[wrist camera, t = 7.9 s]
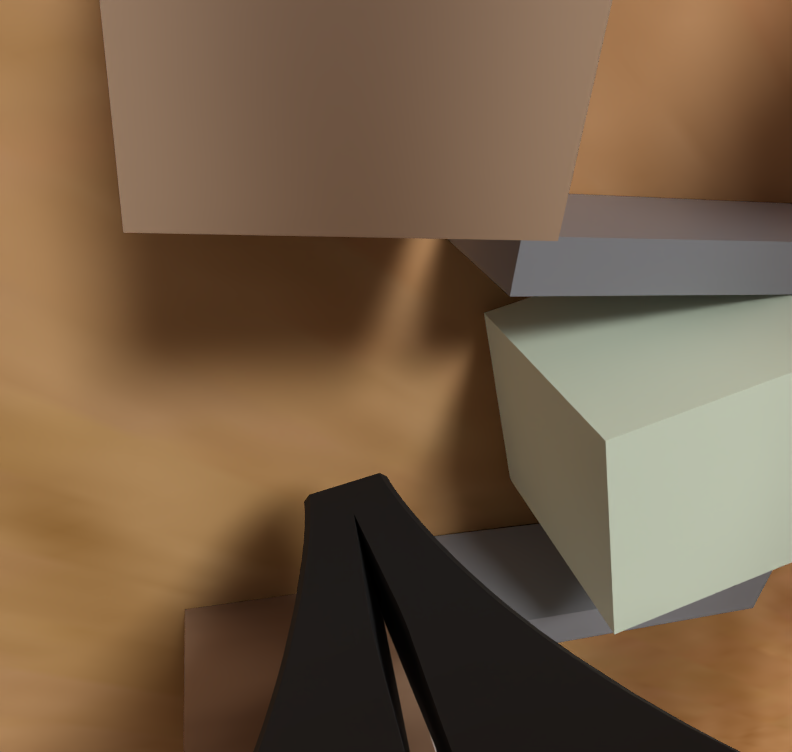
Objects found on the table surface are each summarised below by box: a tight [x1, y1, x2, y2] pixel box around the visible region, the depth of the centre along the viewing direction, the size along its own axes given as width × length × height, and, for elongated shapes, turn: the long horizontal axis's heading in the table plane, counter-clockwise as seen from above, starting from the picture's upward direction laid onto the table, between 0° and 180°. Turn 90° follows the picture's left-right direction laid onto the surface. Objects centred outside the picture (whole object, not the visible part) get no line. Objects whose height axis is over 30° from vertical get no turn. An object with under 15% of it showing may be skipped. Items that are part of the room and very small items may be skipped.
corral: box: [434, 194, 792, 643], centre depth 15 cm, size 9×10×3 cm
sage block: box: [484, 294, 792, 634], centre depth 14 cm, size 5×5×5 cm
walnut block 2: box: [184, 594, 435, 752], centre depth 16 cm, size 5×5×5 cm
